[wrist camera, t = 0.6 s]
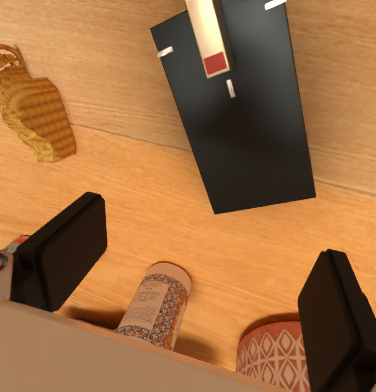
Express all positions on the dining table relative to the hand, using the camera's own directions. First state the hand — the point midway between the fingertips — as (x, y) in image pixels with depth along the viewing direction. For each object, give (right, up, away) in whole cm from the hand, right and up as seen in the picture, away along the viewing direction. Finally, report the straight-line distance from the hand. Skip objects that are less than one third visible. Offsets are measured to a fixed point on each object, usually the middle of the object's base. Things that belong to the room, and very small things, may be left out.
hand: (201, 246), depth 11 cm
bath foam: (-3, -10, +27) cm, 29 cm away
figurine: (-17, +13, +19) cm, 28 cm away
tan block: (+2, +15, +9) cm, 17 cm away
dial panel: (+4, +12, +13) cm, 18 cm away
